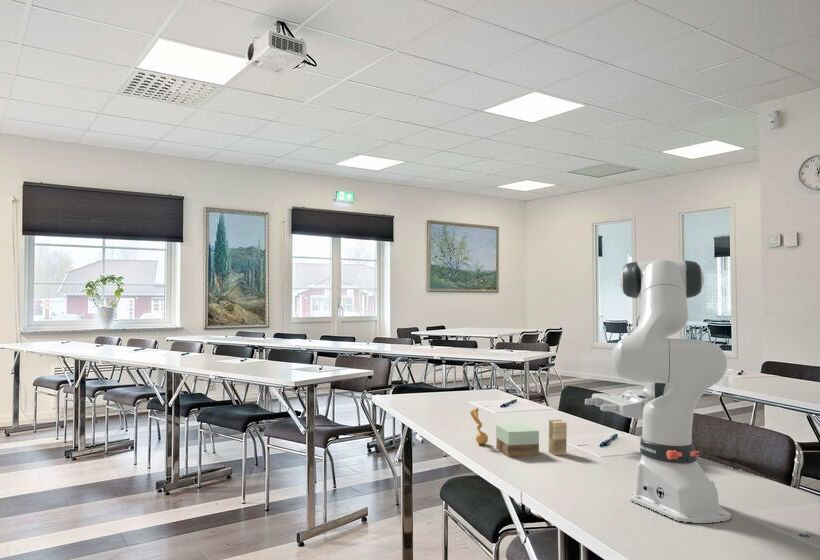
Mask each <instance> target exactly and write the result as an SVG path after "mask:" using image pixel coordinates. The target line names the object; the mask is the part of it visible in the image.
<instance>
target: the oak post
mask: <svg viewBox="0 0 820 560" xmlns="http://www.w3.org/2000/svg"><path fill="white" fill-rule="evenodd" d="M567 428H568V427H567V422H566V421H565V420H562V419H549V420H548V453H549V454H551V455H553V456H566V455H567V432H568V430H567Z"/></svg>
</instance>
